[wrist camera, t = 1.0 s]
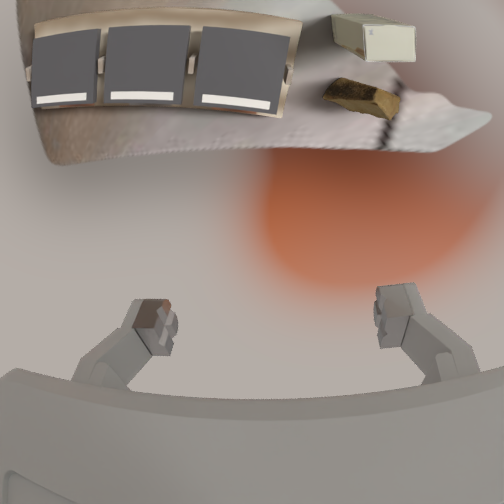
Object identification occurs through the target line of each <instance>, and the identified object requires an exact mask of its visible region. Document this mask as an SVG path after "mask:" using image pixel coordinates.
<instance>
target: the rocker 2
mask: <svg viewBox="0 0 504 504" xmlns="http://www.w3.org/2000/svg"><path fill="white" fill-rule="evenodd" d="M289 42H290V37H288V36H283V35H277V34H271V33H264V32H257V31H250V30H242V29H233V28H222V27H209V26H203V30H202V37H201V44H200V51H199V59H198V67H197V75H196V83H195V92H194V102H193V105H194V106H207V107H218V108H228V109H237V110H245V111H253V112H261V113H268V114H275V115H277V110H278V104H279V98H280V93H281V87H282V82H283V76H284V70H285V65H286V59H287V53H288V48H289Z"/></svg>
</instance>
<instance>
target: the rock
mask: <svg viewBox="0 0 504 504" xmlns="http://www.w3.org/2000/svg"><path fill="white" fill-rule="evenodd" d="M323 99H324V100H329V101H333V102H336V103H338V104H339V105H341V106H343V107H344V108H346V109H348V110H349V111H353V112H355V111H356V112H360V113H362V114H363V113H366V114H371V115H373V116H375V117H379V118H385V119H387V120H391V119H392V117H393V116H394V115H395V114H396V113H398V111H399V102H400V97H398V96H396V95H394V94H391V93H389V92H387V91H384V90H382V89H379V88H377V87H373V86H369V85H366V84H362V83H359V82H356V81H352V80H348V79H346V78H339V79H338V80H337V81H336V82H334V83H333V84H332V85H331V86H330V87H329V88H328V89H327V90H326V92H325V94H324V96H323Z"/></svg>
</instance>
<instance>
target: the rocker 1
mask: <svg viewBox="0 0 504 504" xmlns="http://www.w3.org/2000/svg"><path fill="white" fill-rule="evenodd" d="M100 38H101V29H98V28H97V29H89V30H81V31H74V32H67V33H61V34H55V35H50V36H45V37H40V38H35V39H33V51H32V78H31V98H32V108H37V107H47V106H59V105H74V104H93V103H96V102H97V79H98V59H99V49H100Z"/></svg>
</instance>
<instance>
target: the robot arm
mask: <svg viewBox="0 0 504 504" xmlns="http://www.w3.org/2000/svg"><path fill="white" fill-rule="evenodd" d="M376 297H377V300H376V301H375V302H374V321H375V326H376V327H378V328H379V329H378V334H377V336H378V340H379V345H380V349H381V348H392V347H401V348H402V350H403V351H404V352H405V353H406V354H407V355H408V356H409V357H410V358H411V359H412V361H413V362H414V363H415V364H416V365H417V366H418V367H419V368H420V370H421V371H422V372H423V373H424V374H425V375H426V376H425V378H424V380H423V382H422V384H421V385H420V386H414V387H408V388H402V389H395V390H388V391H380V392H372V393H364V394H354V395H344V396H333V397H319V398H318V397H317V398H298V399H217V398H197V397H183V396H171V395H161V394H151V393H143V392H135V391H131V390H130V389H129V388H128V387H127V386H126V385H127V384H128V383H129V382H130V381H131V380H132V379H133V378H134V376H135V375H136V374H137V373H138V372H139V371H140V370H141V369H142V368H143V366H144V365H145V364H146V363H147V362H148V361H149V360H150V358H151V357H152V356H170V354H171V351H172V348H173V344H174V343H173V341H172V338H173V337H174V336H175V335H176V333H177V330H178V320H177V316H176V314H175V312H173V311H172V310H170V308H171V303H170V302H169V300H167V299H135V300H133V302H132V303H131V306H130V308H129V310H128V312H127V314H126V317H125V319H124V321H123V323H122V326H121V328H117V329H116V330H115V331H113V332H112V333H111V334H110V335H109V336H107V337H106V338H105V339H104V340H103V341H101V342H100V343H99V344H98V345H97V346H96V347H94V348H93V349H92V350H91V351H89V352H88V353H87V354H86V355H85V356H83V357H82V358H81V359H80V361H79V364H78V366H77V368H76V371H75V373H74V375H73V377H72V380H71V381H69V380H64V379H60V378H55V377H51V376H46V375H42V374H39V373H35V372H30V371H27V370H23V369H19V368H16V369H13V370H11V371H9V372H8V373H6V374H5V375H4V376H3V377H1V378H0V504H504V366H502V367H499V368H495V369H491V370H488V371H484V372H480V369H479V366H478V363H477V360H476V357H475V354H474V352H473V349H472V346H470V345H469V344H468V343H467V342H466V341H464V340H463V339H462V338H461V337H459V336H458V335H457V334H456V333H455V332H453V331H452V330H451V329H450V328H448V327H447V326H446V325H445V324H443V323H442V322H441V321H440V320H438V319H437V318H436V317H435V316H433V315H432V314H427V312H426V309H425V306H424V304H423V301H422V299H421V296H420V293H419V291H418V288H417V286H416V284H415V283H414V282H413V283H404V284H396V285H387V286H378V287H377V289H376Z"/></svg>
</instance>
